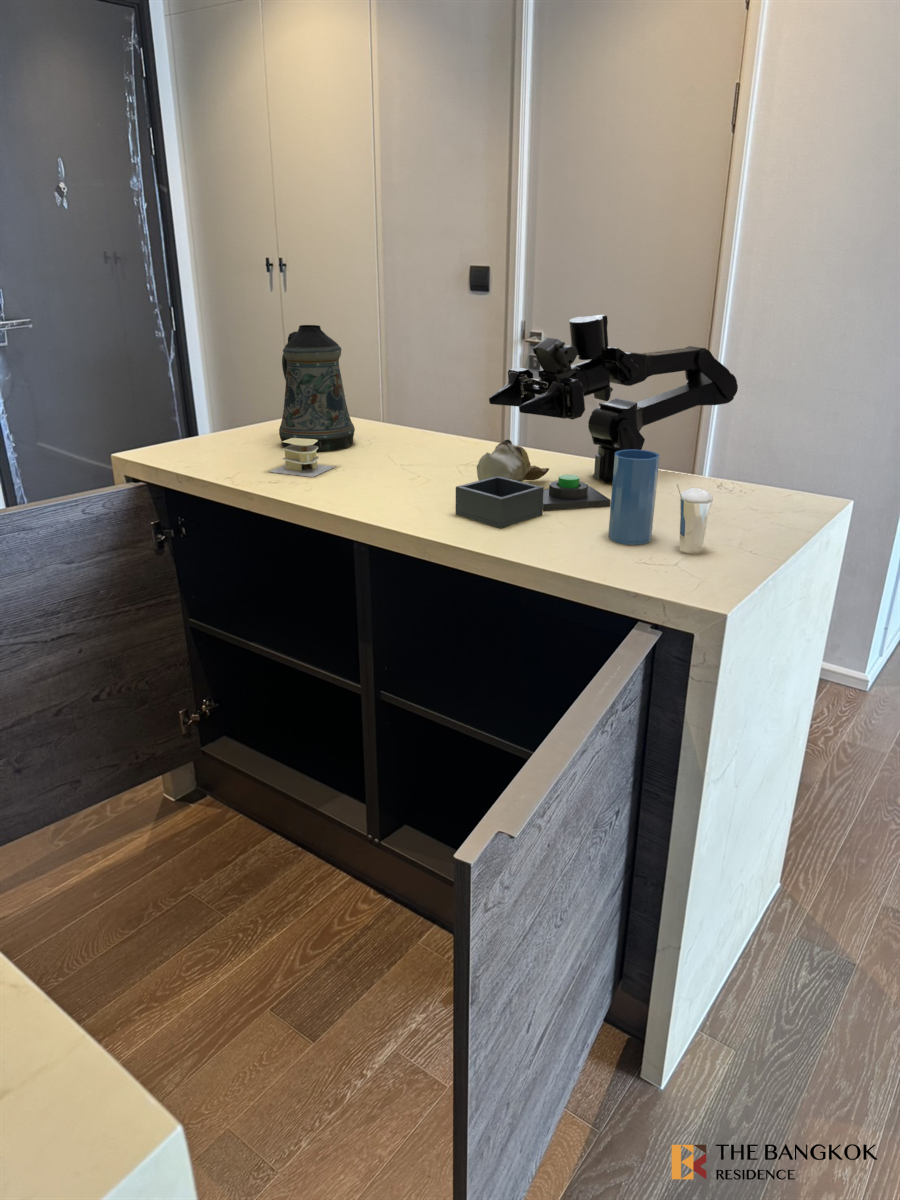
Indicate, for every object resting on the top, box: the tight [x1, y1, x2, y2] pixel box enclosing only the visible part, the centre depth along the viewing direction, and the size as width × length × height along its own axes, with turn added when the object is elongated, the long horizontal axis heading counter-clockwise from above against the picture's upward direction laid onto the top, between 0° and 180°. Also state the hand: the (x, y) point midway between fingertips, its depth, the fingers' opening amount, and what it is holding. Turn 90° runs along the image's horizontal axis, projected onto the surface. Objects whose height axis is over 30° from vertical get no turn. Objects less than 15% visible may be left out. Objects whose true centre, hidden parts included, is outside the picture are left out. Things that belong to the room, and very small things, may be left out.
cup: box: [608, 449, 660, 546], centre depth 129 cm, size 6×6×13 cm
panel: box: [542, 479, 611, 512], centre depth 149 cm, size 12×9×3 cm
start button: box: [558, 474, 581, 488], centre depth 149 cm, size 4×4×2 cm
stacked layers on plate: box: [268, 438, 337, 478], centre depth 169 cm, size 10×9×6 cm
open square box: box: [455, 476, 545, 529], centre depth 141 cm, size 10×10×5 cm
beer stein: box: [278, 324, 356, 453], centre depth 187 cm, size 16×19×25 cm
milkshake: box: [676, 483, 714, 555], centre depth 125 cm, size 4×5×10 cm
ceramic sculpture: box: [476, 439, 550, 482], centre depth 158 cm, size 11×9×15 cm
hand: (504, 405), depth 146 cm, fingers open, 9 cm apart
